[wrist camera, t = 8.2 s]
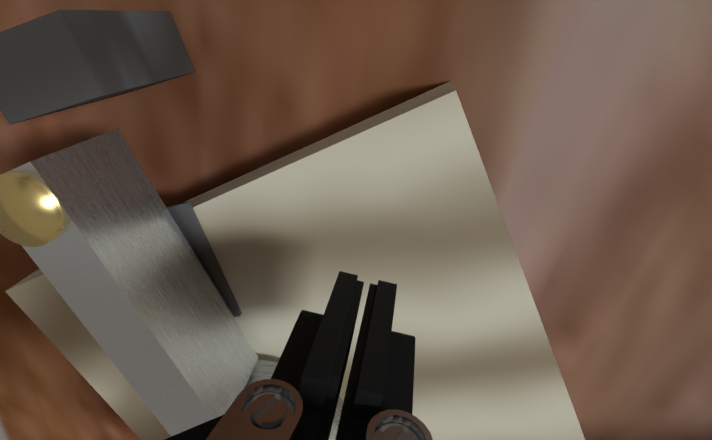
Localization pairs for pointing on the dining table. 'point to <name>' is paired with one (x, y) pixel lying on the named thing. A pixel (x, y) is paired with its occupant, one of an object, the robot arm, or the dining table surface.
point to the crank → (132, 279)
